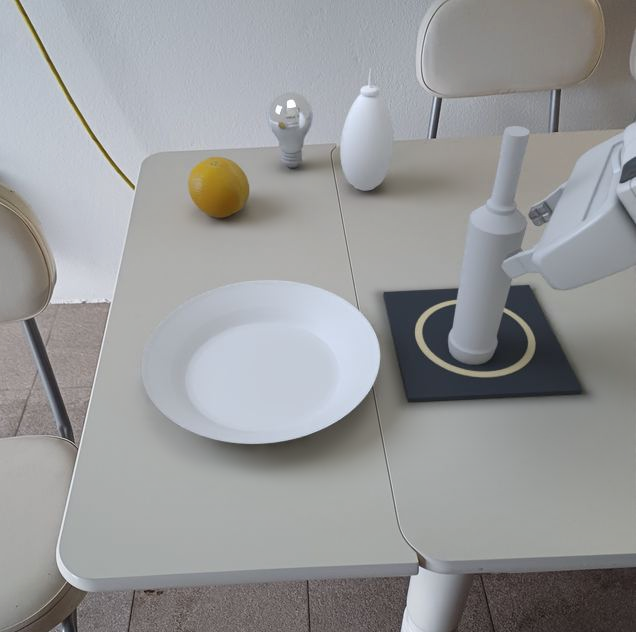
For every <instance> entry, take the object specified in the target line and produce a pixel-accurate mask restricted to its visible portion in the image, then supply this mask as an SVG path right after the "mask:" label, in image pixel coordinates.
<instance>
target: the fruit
mask: <svg viewBox="0 0 636 632" xmlns="http://www.w3.org/2000/svg"><path fill="white" fill-rule="evenodd" d="M187 184H188V185H187V186H188V192H189V195H190V198H191V200H192V202H193V204H195V206H196V207H197V208H198V209H199V210H200V211H201V212H203V213H205V214H206V215H208V216H211V217H213V218H218V219H219V218H220V219H223V218H227V217H231V216H232V215H234V214H236V213H238V212H240V211H241V210H242V209H244V207H245V205H246V203H247V202H248V199H249V196H250V183H249V180H248V177H247V175H246V174H245V172H244V170H243V169H242V168H241V166H239V165H238V164H237V163H236V162H234V161H233V160H231V159H229V158H226V157H223V156H211V157H208V158H205V159H203V160H201V161H200V162H198V163H197V164H196V165H195V166H194V167H193V169H192V170H191V172H190V174H189V176H188V183H187Z"/></svg>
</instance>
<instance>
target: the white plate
mask: <svg viewBox="0 0 636 632" xmlns="http://www.w3.org/2000/svg"><path fill="white" fill-rule="evenodd" d="M146 341H147V342H146V344H145V346H144V348H143V352H142V356H141V368H140V369H141V379H142V382H143V385H144V388H145V391H146V393H147V396H149V398H150V400H151V401H152V403H153V404H154V406H155V407H156V408H157V409H158V410H159V411H160V413H162V414H163V415H164V416H165V417H167V418H168V419H169V420H170V421H171V422H173V423H175V424H176V425H178V426H179V427H181V428H183V429H185V430H187V431H189V432H191V433H194V434H196V435H198V436H201V437H205V438H208V439H211V440H215V441H219V442H226V443H231V444H232V443H233V444H242V445H243V444H245V445H247V444H248V445H249V444H250V445H258V444H259V445H260V444H261V445H262V444H273V443H279V442H286V441H291V440H295V439H299V438H303V437H305V436H308V435H311V434H313V433H316V432H319V431H321V430H324V429H326V428H327V427H329V426H331V425H333V424H335V423H336V422H338V421H339V420H342V419H343V418H344V417H346V416H347V415H348V414H349V413H351V412H352V411H353V410H354V409H355V408H357V406H359V405H360V404H361V402H363V400H364V399H365V398H366V397H367V396H368V393H369V392H370V390H371V389H372V387H373V385H374V384H375V382H376V379H377V376H378V374H379V370H380V363H381V350H380V349H381V348H380V343H379V340H378V337H377V334H376V331H375V330H374V328H373V326H372V324H371V323H370V321H369V320H368V319H367V318H366V317H365V316H364V314H363V313H362V312H361V311H360V310H359V309H358V308H357V307H355V306H354V305H353V304H351V302H349V301H347V300H346V299H344V298H343V297H341V296H339V295H337V294H335V293H333V292H331V291H328V290H326V289H324V288H322V287H318V286H314V285H311V284H306V283H302V282H297V281H290V280H281V279H280V280H279V279H259V280H247V281H240V282H234V283H230V284H229V283H228V284H226V285H222V286H218V287H216V288H213V289H209V290H207V291H205V292H201V293H200V294H198V295H196V296H194V297H192V298H190V299H188V300H186V301H185V302H182V303H181V304H180V305H178V306H177V307H176V308H174V309H173V310H172V311H170V312H169V313H168V314H167V315H166V316H164V318H163V319H162V320H161V321H160V322H159V323H158V324H157V325H156V327H155V328H154V329H153V331H152V332H151V334H150V336H149V337H148V340H146Z"/></svg>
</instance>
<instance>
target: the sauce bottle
mask: <svg viewBox="0 0 636 632" xmlns="http://www.w3.org/2000/svg"><path fill="white" fill-rule="evenodd" d="M367 82H368V84H367V85H363V86H362V87H361V88H360V91H359V95H358V96H357V97H356V98H355V100H354V102H353V103H352V105H351V107H350V109H349V111H348V113H347V116H346V118H345V122H344V124H343V127H342V132H341V137H340V146H339V150H340V151H339V153H340V157H339V158H340V163H341V168H342V171H343V174H344V176H345V178H346V181H347V182H348V183H349V184H350V185H351V186H353V187H354V188H355V189H357V190H360V191H363V192H368V191H371V190H374V189H376V187H378V186H379V185H381V184H382V183H383V182H384V180H385V178H386V177H387V175H388V173H389V171H390V168H391V166H392V162H393V158H394V151H395V137H394V127H393V123H392V119H391V115H390V112H389V109H388V106H387V104H386V103H385V101H384V98H383V97H382V96H381V94H380V88H379V87H378V86H377V85H373V70H372V68H371V67H370V68H369V72H368V81H367Z"/></svg>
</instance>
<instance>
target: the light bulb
mask: <svg viewBox="0 0 636 632" xmlns="http://www.w3.org/2000/svg"><path fill="white" fill-rule="evenodd" d="M313 117H314V116H313V109H312V107H311V105H310V103H309V101H308V100H307V98H305V97H304V96H302V95H301V94H299V93H296V92H290V91H289V92H283V93H282V94H280V95H278V96H277V97H276V98H274V100H273V101H272V103H271V104H270V106H269V109H268V113H267V120H268V121H267V122H268V125H269V128H270V130H271V131H272V133H273V134H274V136H275V138H276V139H277V141H278V146H279V148H280V150H281V152H280V153H281V155H280V156H281V162H282V163H283V164H284V165H285V166H286V167H287V168H288V169H296V168H297V167H298V166H299V165H300V164H301V162H302V161H303V151H302V149H303V147H304V142H305V140H306V139H305V138H306V136H307V135H308V133H309V131H310V130H311V127H312V125H313V120H314V119H313Z"/></svg>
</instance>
